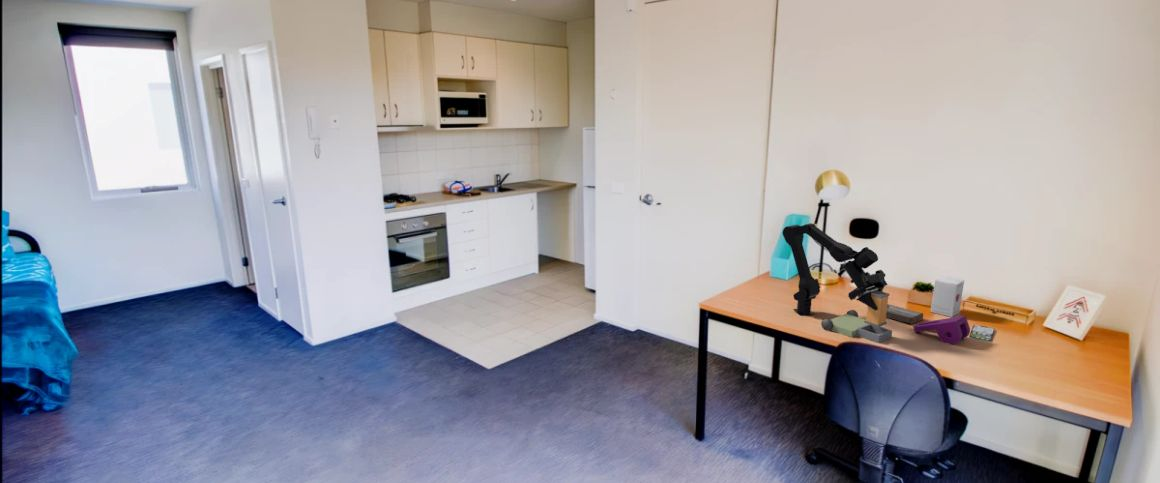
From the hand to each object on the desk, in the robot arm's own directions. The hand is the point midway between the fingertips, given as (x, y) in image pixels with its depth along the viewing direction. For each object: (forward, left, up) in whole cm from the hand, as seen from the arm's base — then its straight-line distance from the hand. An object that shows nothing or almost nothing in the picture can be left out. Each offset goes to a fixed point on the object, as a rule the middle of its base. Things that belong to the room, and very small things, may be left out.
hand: (880, 308), depth 239 cm
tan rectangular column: (-1, -1, -7) cm, 7 cm away
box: (-21, +21, -13) cm, 32 cm away
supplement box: (-23, +44, -12) cm, 51 cm away
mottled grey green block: (+1, +43, -13) cm, 45 cm away
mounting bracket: (+1, +25, -13) cm, 28 cm away
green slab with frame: (-7, -4, -12) cm, 14 cm away
